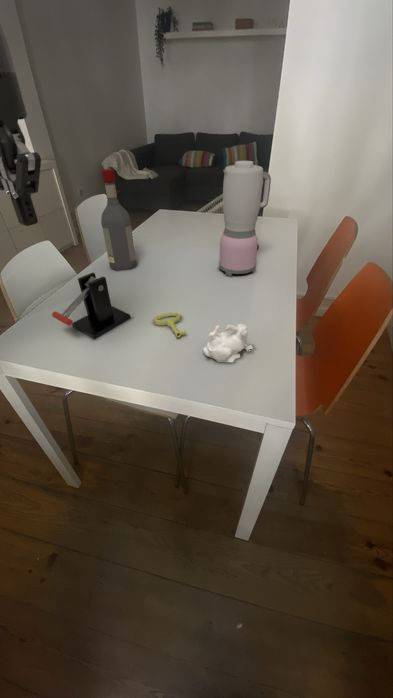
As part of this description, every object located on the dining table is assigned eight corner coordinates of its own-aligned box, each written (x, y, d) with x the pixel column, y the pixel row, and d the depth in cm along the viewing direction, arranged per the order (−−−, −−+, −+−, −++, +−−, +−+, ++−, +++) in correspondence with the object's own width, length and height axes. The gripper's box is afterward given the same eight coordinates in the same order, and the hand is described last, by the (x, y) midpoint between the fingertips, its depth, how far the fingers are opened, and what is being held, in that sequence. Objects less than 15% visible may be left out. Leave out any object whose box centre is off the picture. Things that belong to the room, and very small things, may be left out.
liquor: (135, 259, 117) (122, 166, 99) (137, 269, 110) (123, 171, 92) (110, 261, 116) (92, 168, 97) (110, 272, 109) (91, 173, 90)
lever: (70, 328, 73) (64, 322, 71) (55, 319, 76) (49, 313, 74) (107, 287, 77) (102, 280, 75) (91, 280, 80) (86, 274, 78)
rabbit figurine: (252, 346, 75) (256, 310, 69) (259, 367, 69) (265, 330, 63) (201, 348, 74) (201, 313, 68) (204, 370, 68) (204, 333, 62)
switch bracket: (94, 339, 78) (81, 292, 70) (72, 327, 82) (58, 282, 74) (130, 318, 85) (123, 273, 77) (109, 308, 90) (99, 265, 82)
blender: (228, 280, 102) (234, 167, 83) (212, 266, 111) (214, 160, 91) (270, 271, 107) (285, 162, 87) (251, 258, 116) (261, 157, 96)
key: (178, 342, 76) (177, 334, 75) (150, 321, 84) (149, 314, 83) (201, 331, 80) (201, 324, 79) (172, 312, 88) (172, 305, 86)
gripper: (-79, 71, 38) (-17, 222, 48) (-32, 62, 31) (28, 240, 42) (-14, 74, 42) (30, 211, 53) (40, 67, 36) (77, 225, 46)
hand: (29, 223), depth 47 cm, fingers closed
